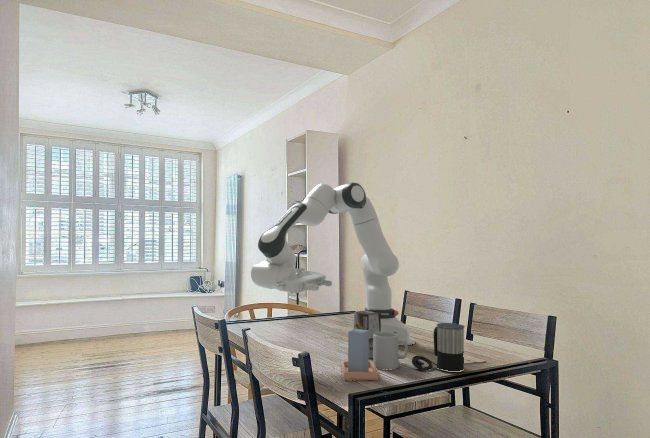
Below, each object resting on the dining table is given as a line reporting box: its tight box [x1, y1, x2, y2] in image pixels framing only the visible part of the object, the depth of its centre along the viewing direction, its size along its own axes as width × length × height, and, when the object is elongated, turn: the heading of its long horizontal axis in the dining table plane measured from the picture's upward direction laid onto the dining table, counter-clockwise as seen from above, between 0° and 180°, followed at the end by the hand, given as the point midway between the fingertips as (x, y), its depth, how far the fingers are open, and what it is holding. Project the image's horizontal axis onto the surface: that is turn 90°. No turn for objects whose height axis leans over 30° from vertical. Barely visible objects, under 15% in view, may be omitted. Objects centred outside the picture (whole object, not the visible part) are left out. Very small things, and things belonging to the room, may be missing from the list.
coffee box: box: [353, 310, 381, 359], centre depth 168 cm, size 9×6×16 cm
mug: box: [372, 332, 409, 371], centre depth 152 cm, size 12×8×11 cm
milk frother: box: [411, 322, 465, 371], centre depth 150 cm, size 14×16×15 cm
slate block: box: [347, 328, 370, 372], centre depth 143 cm, size 5×5×13 cm
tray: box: [340, 360, 379, 382], centre depth 143 cm, size 11×14×2 cm
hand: (324, 285), depth 152 cm, fingers open, 8 cm apart
